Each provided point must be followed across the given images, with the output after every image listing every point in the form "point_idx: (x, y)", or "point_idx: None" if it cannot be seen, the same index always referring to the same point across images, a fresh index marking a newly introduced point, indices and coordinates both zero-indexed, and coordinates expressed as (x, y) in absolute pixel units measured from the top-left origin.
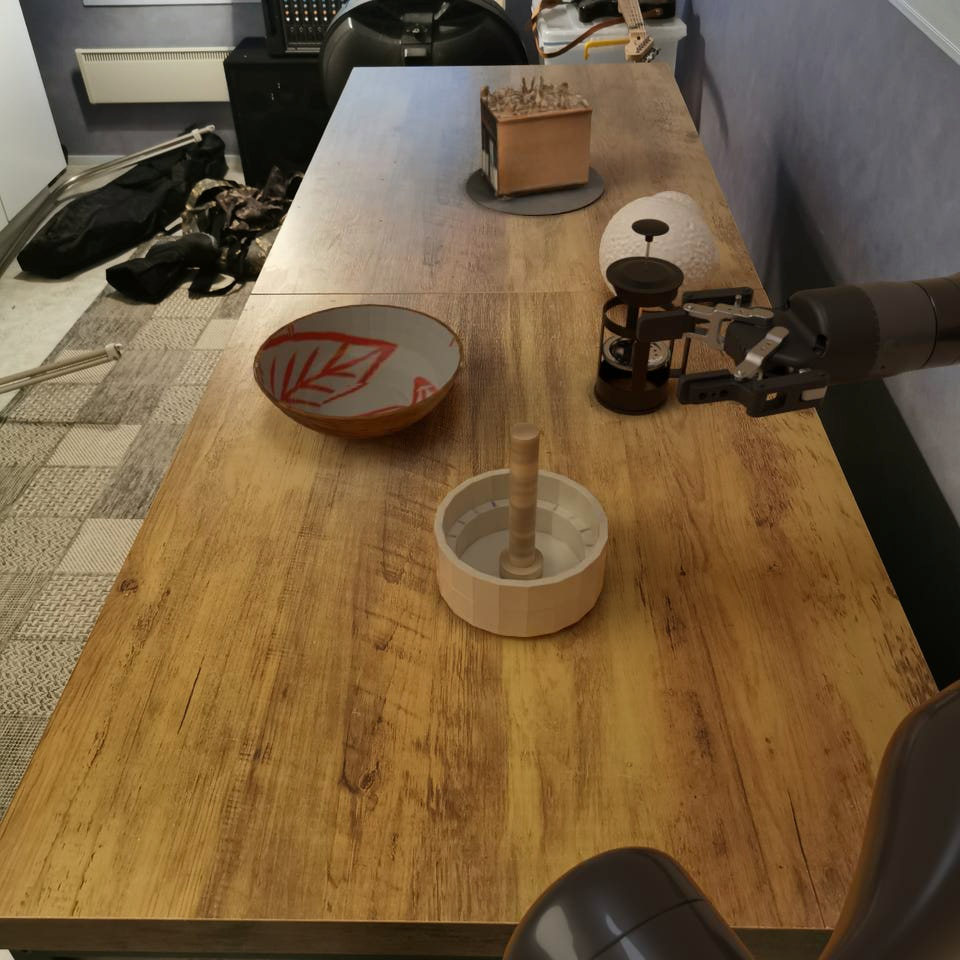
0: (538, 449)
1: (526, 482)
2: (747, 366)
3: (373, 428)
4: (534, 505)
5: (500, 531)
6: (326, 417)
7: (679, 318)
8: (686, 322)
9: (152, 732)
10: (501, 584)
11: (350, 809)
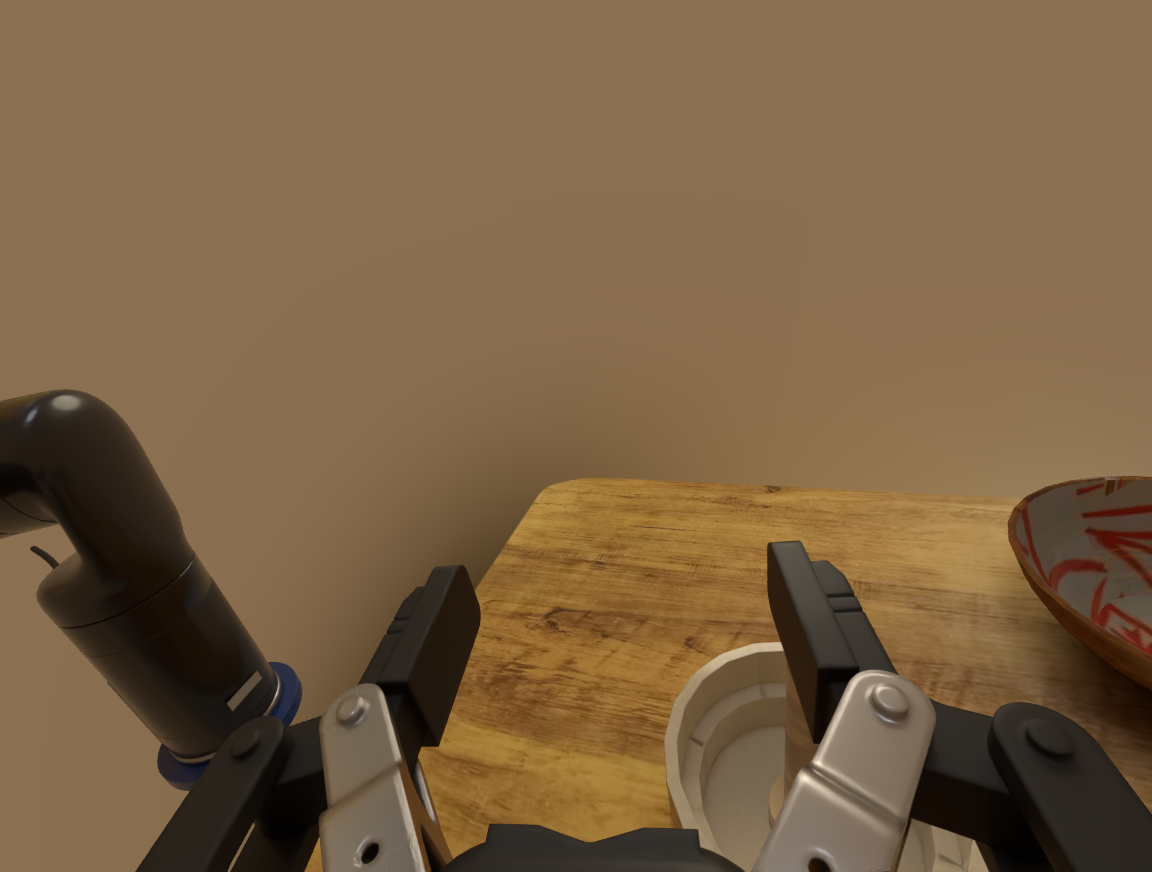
0: None
1: (786, 693)
2: (362, 752)
3: (1050, 609)
4: (796, 747)
5: None
6: (1010, 540)
7: (806, 654)
8: (829, 710)
9: (633, 515)
10: (674, 703)
11: (533, 613)
